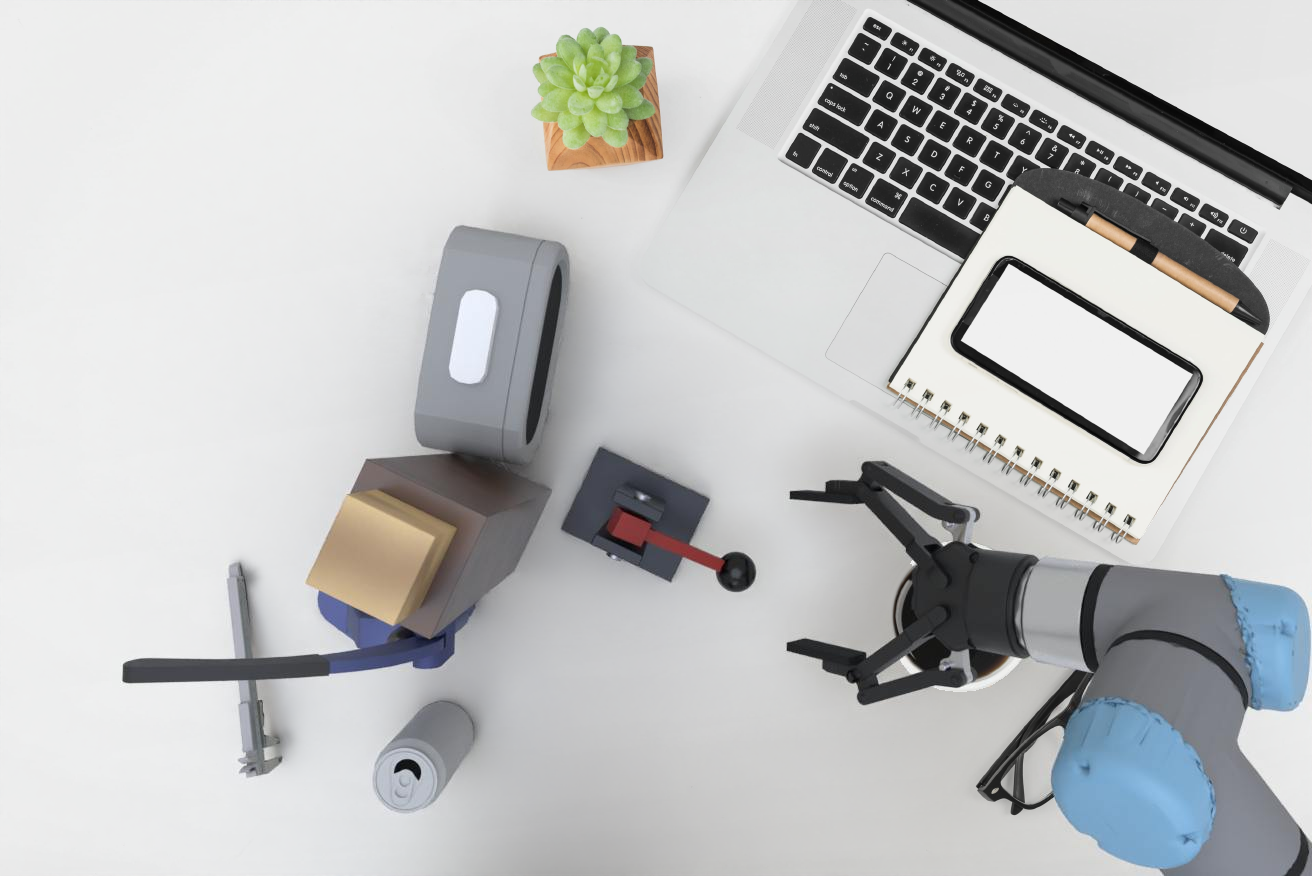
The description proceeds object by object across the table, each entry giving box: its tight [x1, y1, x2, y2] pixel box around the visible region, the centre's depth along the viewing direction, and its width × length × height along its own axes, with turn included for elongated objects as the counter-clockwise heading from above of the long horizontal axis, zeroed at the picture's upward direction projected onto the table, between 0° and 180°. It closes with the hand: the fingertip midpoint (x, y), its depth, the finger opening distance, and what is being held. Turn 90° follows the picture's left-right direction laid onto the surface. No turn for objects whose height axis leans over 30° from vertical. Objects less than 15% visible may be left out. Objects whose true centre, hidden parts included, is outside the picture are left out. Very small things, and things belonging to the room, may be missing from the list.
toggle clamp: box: [560, 446, 711, 583], centre depth 75 cm, size 12×9×14 cm
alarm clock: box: [413, 224, 571, 466], centre depth 76 cm, size 21×10×13 cm, turn 170°
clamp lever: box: [606, 506, 757, 593], centre depth 72 cm, size 14×4×4 cm, turn 65°
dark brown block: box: [349, 452, 553, 639], centre depth 69 cm, size 9×9×28 cm
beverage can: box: [372, 701, 475, 814], centre depth 77 cm, size 6×6×12 cm
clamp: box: [121, 590, 476, 684], centre depth 69 cm, size 19×9×28 cm, turn 88°
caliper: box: [226, 562, 283, 779], centre depth 80 cm, size 20×1×6 cm, turn 13°
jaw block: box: [305, 489, 457, 626], centre depth 52 cm, size 6×6×5 cm
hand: (796, 569), depth 75 cm, fingers open, 13 cm apart
